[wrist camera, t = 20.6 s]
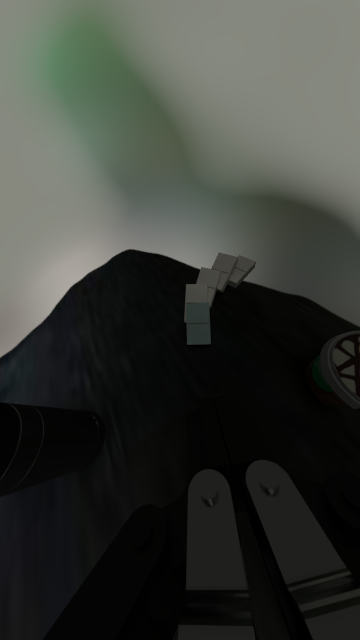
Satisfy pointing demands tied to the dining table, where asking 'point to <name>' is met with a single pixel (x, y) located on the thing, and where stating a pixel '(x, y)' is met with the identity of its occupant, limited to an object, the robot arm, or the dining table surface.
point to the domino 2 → (195, 295)
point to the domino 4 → (224, 269)
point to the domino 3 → (198, 323)
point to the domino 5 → (241, 271)
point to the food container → (337, 371)
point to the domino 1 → (210, 282)
